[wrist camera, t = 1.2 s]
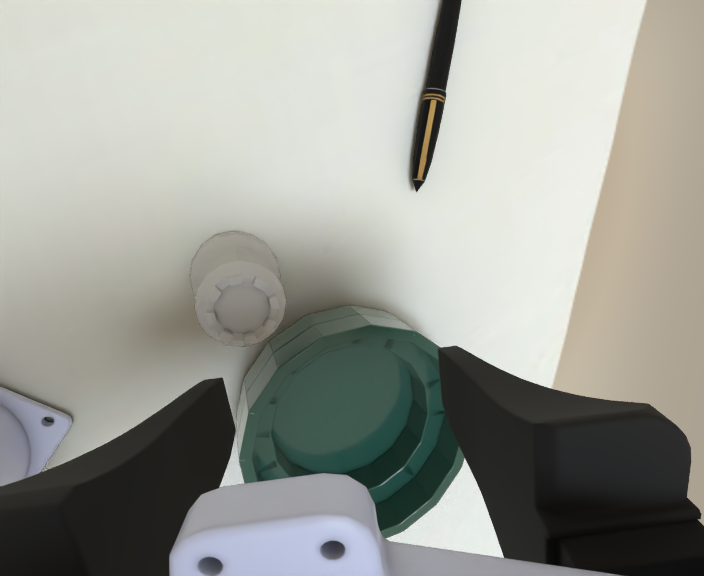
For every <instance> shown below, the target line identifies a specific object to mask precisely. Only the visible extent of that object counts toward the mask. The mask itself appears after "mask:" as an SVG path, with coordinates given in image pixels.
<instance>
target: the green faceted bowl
mask: <svg viewBox="0 0 704 576" xmlns="http://www.w3.org/2000/svg"><path fill="white" fill-rule="evenodd" d="M438 348H440V347H439V346H437V345H436V344H434V343H433V342H431V341H430V340H428V339H427V338H425V337H424V336H423V335H421V334H420V333H418V332H417V331H415V330H414V329H412V328H411V327H409V326H408V325H406V324H405V323H403V322H402V321H400V320H399V319H397V318H396V317H394V316H393V315H391V314H390V313H388V312H386V311H381V310H375V309H369V308H363V307H357V306H351V305H348V306H347V305H346V306H342V307H338V308H334V309H330V310H325V311H321V312H317V313H313V314H309V315H307V316H304V317H303V318H301V319H300V320H299V321H297V322H296V323H294V324H293V325H291V326H290V327H288V328H287V329H286V330H284V331H283V332H281V333H280V334H278V335H277V336H275V337H274V338H273V339H271V340H270V341H269V342H268V343H267V345H266V346H265V348H264V349H263V350H262V352H261V353H260V355H259V356H258V358H257V359H256V361H255V362H254V364H253V365H252V367H251V368H250V370H249V371H248V373H247V374H246V376H245V378H244V380H243V386H242V391H241V396H240V401H239V406H238V411H237V416H236V426H237V439H238V440H237V441H238V455H239V463H240V467H241V471H242V475H243V479H244V483H245V484H246V483H253V482H261V481H268V480H276V479H283V478H291V477H298V476H306V475H313V474H321V473H327V474H339V475H348V476H349V477H351V478H352V479H354V480H356V481H357V482H359V483H361V484H362V485H364V486H366V488H367V490H368V492H369V494H370V496H371V498H372V500H373V502H374V504H375V509H376V516H377V523H378V527H379V530H380V533H381V534H382V536H383V537H384V538H388V537H391V536H393V535H396V534H398V533H401V532H403V531H404V530H406V529H407V528H408V527H409V526H411V525H412V524H413V523H414V522H416V521H417V520H418V519H419V518H421V517H422V516H423V515H424V514H426V513H427V512H428V511H429V510H431V509H432V508H433V507H434V506H435V505H437V503H438V502H439V500H440V499H441V497H442V496H443V494H444V493H445V492H446V490H447V489H448V487H449V486H450V484H451V483H452V481H453V480H454V478H455V477H456V475H457V474H458V472H459V471H460V469H461V467H462V465H463V461H464V455H463V453H462V451H461V449H460V447H459V445H458V443H457V441H456V438H455V436H454V434H453V432H452V430H451V428H450V425H449V422H448V419H447V416H446V413H445V410H444V407H443V404H442V395H441V383H440V370H439V358H438Z"/></svg>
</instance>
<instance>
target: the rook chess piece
mask: <svg viewBox="0 0 704 576" xmlns="http://www.w3.org/2000/svg"><path fill="white" fill-rule="evenodd" d="M279 281H280V272H279V268H278V264H277V260H276V257H275V255H274V254H273V253H272V251H271V250H270V249H269V247H268V246H267V244H266V243H264V242H263V241H261V240H259V239H258V238H256V237H255V236H253V235H251V234H246V233H241V232H235V231H233V232H228V233H223V234H218V235H215V236H214V237H212V238H211V239H209V240H208V241H206V242H205V243H204V244H202V245H201V246H200V248H199V250H198V251H197V253H196V254H195V256H194V257H193V259H192V263H191V270H190V282H191V286H192V289H193V293H194V296H195V298H196V302H195V310H196V314H197V317H198V321H199V324H200V325H201V326H202V328H203V329H204V330H205V331H206V332H207V333H208V335H209V336H210V337H211V338H213V339H215V340H217V341H219V342H221V343H223V344H225V345H230V346H241V347H245V346H248V345H252V344H256V343H259V342H261V341H263V340H264V339H266V338H267V337H268V336H270V335H271V334H273V333H274V332H275V330H276V329H277V327H278V326H279V324H280V323H281V321H282V319H283V317H284V312H285V306H286V298H285V294H284V290H283V286H282V284H281V283H280V282H279Z"/></svg>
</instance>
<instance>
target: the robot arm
mask: <svg viewBox="0 0 704 576" xmlns="http://www.w3.org/2000/svg"><path fill="white" fill-rule="evenodd" d="M438 358H439V370H440V383H441V395H442V404H443V407H444V410H445V413H446V416H447V419H448V422H449V425H450V428H451V430H452V432H453V434H454V436H455V438H456V441H457V443H458V445H459V447H460V449H461V451H462V453H463V455H464V457H465V459H466V461H467V463H468V465H469V467H470V469H471V471H472V473H473V475H474V477H475V479H476V482H477V484H478V486H479V488H480V491H481V493H482V496H483V498H484V501H485V504H486V507H487V509H488V512H489V515H490V518H491V521H492V523H493V526H494V529H495V532H496V535H497V538H498V541H499V544H500V547H501V550H502V552H503V555H504V558H500V557H493V556H486V555H479V554H472V553H466V552H459V551H452V550H445V549H438V548H431V547H425V546H418V545H411V544H404V543H397V542H391V541H388V540H386V539H385V538H384V537H383V536H382V534H381V533H380V530H379V527H378V523H377V516H376V509H375V504H374V502H373V500H372V498H371V496H370V494H369V492H368V490H367V488H366V486H364V485H362V484H361V483H359V482H357V481H356V480H354V479H352V478H351V477H349V476H348V475H339V474H327V473H321V474H313V475H306V476H298V477H291V478H283V479H276V480H268V481H261V482H253V483H246V484H238V485H231V486H223V487H220V488H219V486H220V484H221V481H222V478H223V476H224V473H225V470H226V467H227V465H228V462H229V459H230V456H231V451H232V447H233V442H234V437H235V431H236V429H235V425H234V421H233V417H232V413H231V409H230V405H229V401H228V397H227V393H226V389H225V385H224V381H223V378H216V379H208V380H204V381H202V382H200V383H198V384H197V385H195V386H193V387H192V388H191V389H189V390H188V391H186V392H185V393H183V394H182V395H181V396H179V397H178V398H176V399H175V400H174V401H172V402H171V403H170V404H168V405H167V406H165V407H164V408H163V409H161V410H160V411H158V412H157V413H155V414H154V415H152V416H151V417H149V418H148V419H146V420H145V421H143V422H142V423H140V424H139V425H137V426H136V427H134V428H132V429H131V430H129V431H127V432H126V433H124V434H122V435H121V436H119V437H117V438H115V439H113V440H111V441H110V442H108V443H106V444H104V445H102V446H100V447H98V448H96V449H94V450H92V451H90V452H88V453H86V454H83V455H81V456H79V457H77V458H75V459H73V460H71V461H68V462H66V463H64V464H61V465H59V466H56V467H54V468H52V469H49V470H46V471H44V472H41V470H42V469H43V467H44V466H45V464H46V463H47V461H48V460H49V458H50V457H51V455H52V454H53V452H54V451H55V449H56V448H57V447H58V445H59V444H60V442H61V441H62V439H63V438H64V436H65V435H66V433H67V432H68V430H69V429H70V427H71V425H72V419H71V417H70V416H69V415H67V414H65V413H63V412H60V411H58V410H56V409H53V408H51V407H48V406H46V405H44V404H41V403H39V402H36V401H34V400H32V399H29V398H27V397H24V396H22V395H19V394H17V393H15V392H12V391H10V390H7V389H5V388H3V387H0V576H704V526H703V525H702V524H701V523H700V522H699V521H698V520H697V519H700V518H701V513H700V510H699V509H698V508H697V507H696V506H695V505H694V504H693V503H692V502H691V501H690V500H689V499H688V498H687V491H688V483H689V474H690V466H691V447H690V445H689V442H688V440H687V437H686V436H685V434H684V433H683V432H682V431H681V430H680V429H679V428H678V427H677V426H676V425H675V424H674V423H673V422H671V421H670V420H669V419H667V418H666V417H665V416H664V415H663V414H661V413H660V412H659V411H657V410H656V409H655V408H654V407H652V406H651V405H650V404H646V403H634V402H622V401H610V400H603V399H597V398H591V397H585V396H579V395H574V394H570V393H566V392H562V391H558V390H554V389H550V388H547V387H544V386H541V385H538V384H535V383H532V382H529V381H526V380H523V379H521V378H518V377H516V376H514V375H512V374H509V373H507V372H505V371H503V370H501V369H499V368H497V367H495V366H493V365H491V364H489V363H487V362H485V361H483V360H481V359H480V358H478V357H476V356H474V355H473V354H471V353H469V352H467V351H466V350H464V349H462V348H460V347H458V346H451V347H443V348H438ZM47 416H48V417H52V418H53V419H54V422H52V423H50V422H47V421H45V417H47ZM40 472H41V473H40Z"/></svg>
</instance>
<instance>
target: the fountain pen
mask: <svg viewBox="0 0 704 576" xmlns="http://www.w3.org/2000/svg"><path fill="white" fill-rule="evenodd" d="M461 1H462V0H443V4H442V9H441V13H440V18H439V23H438V27H437V32H436V37H435V42H434V47H433V52H432V58H431V63H430V68H429V74H428V79H427V84H426V89H425V90H424V92H423V98H422V104H421V109H420V115H419V121H418V127H417V134H416V141H415V149H414V156H413V174H412V180H413V183H414V186H415V190H416V192H417V191H418V190H419V188H420V187H421V186H422V184H423V183H424V182H425V179H426V176H427V174H428V171H429V168H430V165H431V162H432V158H433V153H434V149H435V145H436V141H437V137H438V133H439V128H440V123H441V119H442V114H443V109H444V104H445V99H446V92H445V91H446V86H447V80H448V75H449V70H450V64H451V59H452V54H453V49H454V43H455V37H456V31H457V25H458V19H459V13H460V7H461Z"/></svg>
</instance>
